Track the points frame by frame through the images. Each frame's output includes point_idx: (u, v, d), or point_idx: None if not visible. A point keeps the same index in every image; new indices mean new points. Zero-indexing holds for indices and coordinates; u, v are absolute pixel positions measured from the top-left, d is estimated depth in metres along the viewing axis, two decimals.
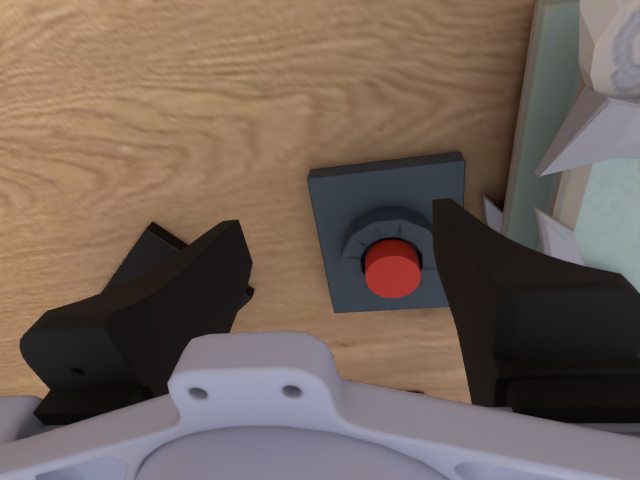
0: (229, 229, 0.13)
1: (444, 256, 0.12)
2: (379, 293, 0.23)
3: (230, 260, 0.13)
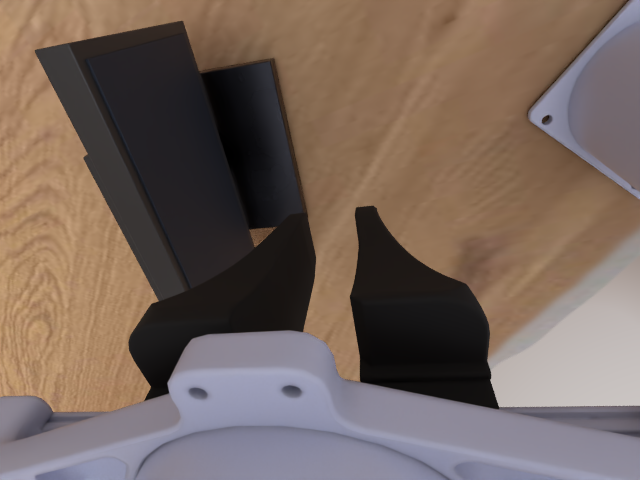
0: (301, 222, 0.13)
1: None
2: None
3: (302, 254, 0.13)
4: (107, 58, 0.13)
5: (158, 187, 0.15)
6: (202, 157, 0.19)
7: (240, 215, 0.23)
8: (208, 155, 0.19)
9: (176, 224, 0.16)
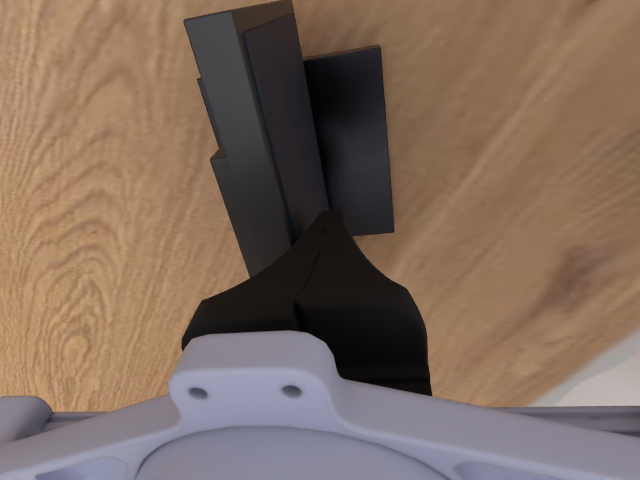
0: (336, 219, 0.13)
1: None
2: None
3: None
4: (256, 34, 0.10)
5: None
6: (310, 158, 0.16)
7: None
8: (313, 156, 0.17)
9: None
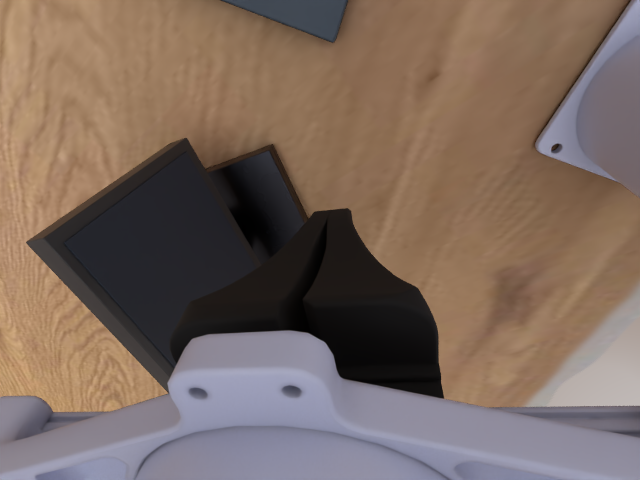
0: (328, 219, 0.13)
1: None
2: None
3: None
4: (88, 228, 0.14)
5: (157, 319, 0.16)
6: (214, 263, 0.19)
7: None
8: (223, 257, 0.20)
9: None
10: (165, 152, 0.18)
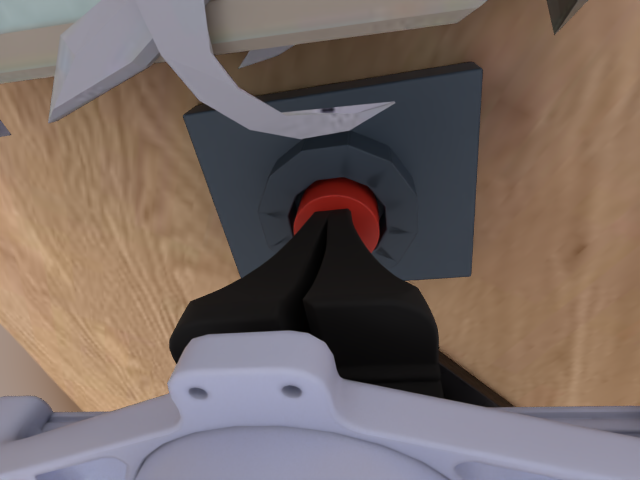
0: (328, 219, 0.13)
1: None
2: None
3: None
4: None
5: None
6: None
7: None
8: None
9: None
10: None
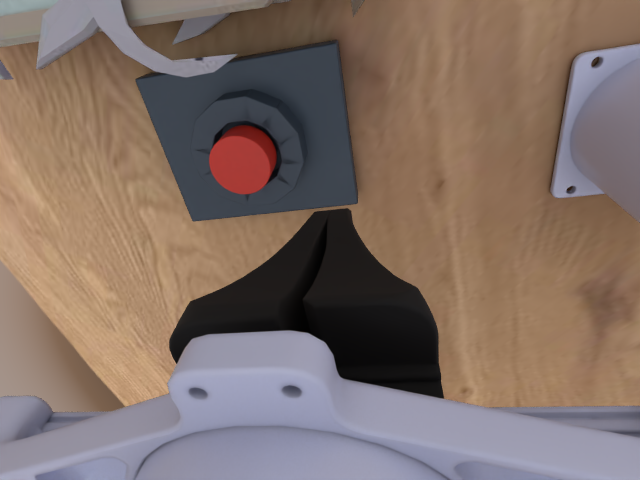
0: (328, 219, 0.13)
1: None
2: (264, 179, 0.20)
3: None
4: None
5: None
6: None
7: None
8: None
9: None
10: None
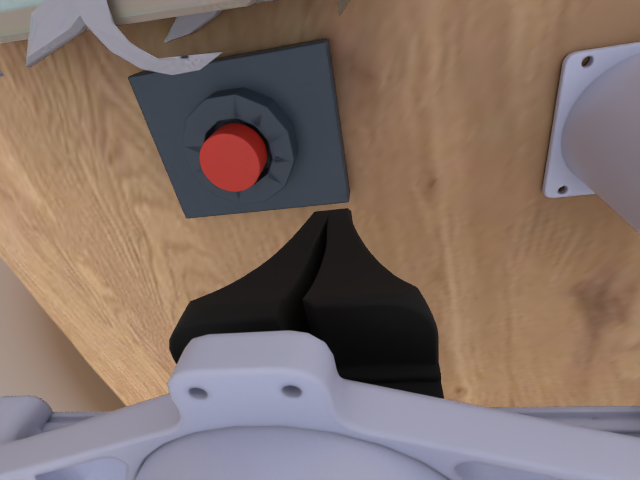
0: (328, 219, 0.13)
1: None
2: (254, 177, 0.20)
3: None
4: None
5: None
6: None
7: None
8: None
9: None
10: None
